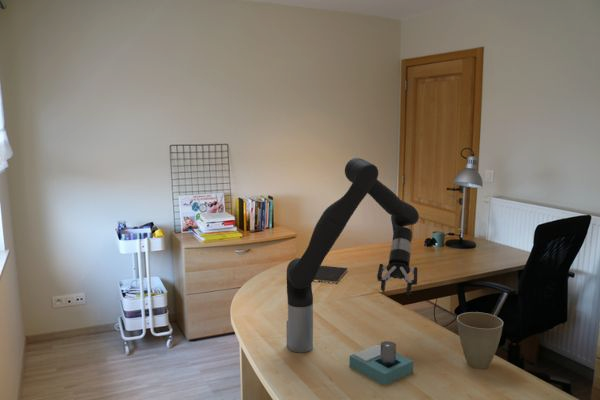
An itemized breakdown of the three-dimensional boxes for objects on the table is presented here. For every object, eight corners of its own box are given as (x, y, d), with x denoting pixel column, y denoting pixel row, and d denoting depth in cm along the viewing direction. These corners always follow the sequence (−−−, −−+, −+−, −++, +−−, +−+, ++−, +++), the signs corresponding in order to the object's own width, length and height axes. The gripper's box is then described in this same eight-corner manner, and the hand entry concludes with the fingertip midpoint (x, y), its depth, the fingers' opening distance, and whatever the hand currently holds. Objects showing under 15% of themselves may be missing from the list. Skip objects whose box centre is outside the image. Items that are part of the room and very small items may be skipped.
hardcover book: (347, 272, 281) (347, 268, 281) (337, 285, 260) (337, 280, 259) (319, 269, 286) (319, 265, 286) (307, 281, 265) (307, 277, 264)
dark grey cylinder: (376, 372, 170) (377, 344, 169) (387, 367, 173) (387, 339, 172) (388, 378, 167) (388, 349, 165) (398, 373, 170) (399, 345, 168)
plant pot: (490, 353, 183) (492, 311, 181) (508, 374, 169) (511, 328, 166) (449, 354, 183) (451, 312, 180) (463, 374, 168) (465, 329, 166)
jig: (349, 366, 174) (349, 354, 173) (377, 354, 183) (378, 342, 182) (384, 385, 162) (384, 372, 161) (413, 372, 170) (413, 359, 170)
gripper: (380, 246, 190) (374, 285, 181) (419, 249, 186) (415, 290, 177) (381, 256, 195) (376, 295, 186) (419, 260, 191) (416, 299, 182)
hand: (395, 292), depth 182 cm, fingers open, 8 cm apart
